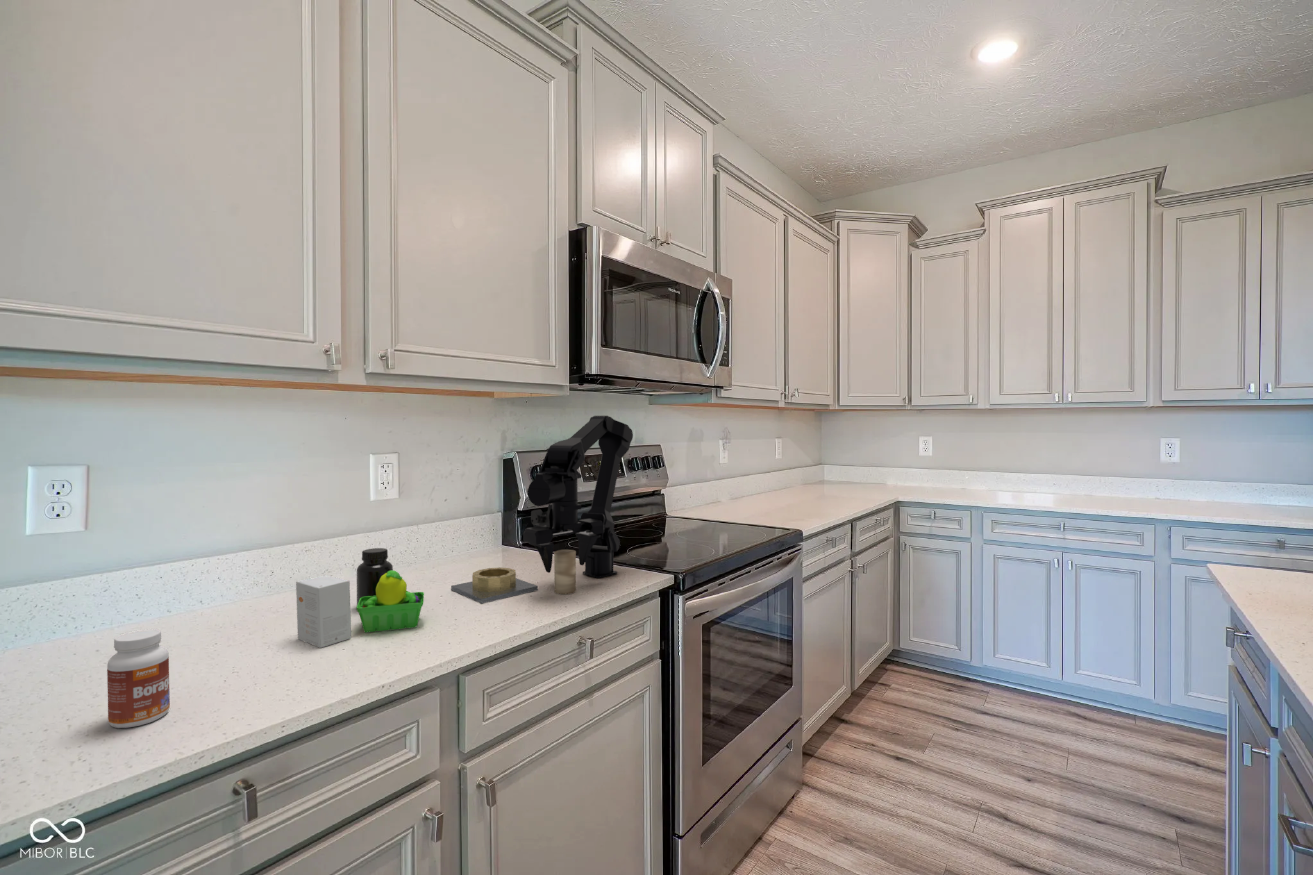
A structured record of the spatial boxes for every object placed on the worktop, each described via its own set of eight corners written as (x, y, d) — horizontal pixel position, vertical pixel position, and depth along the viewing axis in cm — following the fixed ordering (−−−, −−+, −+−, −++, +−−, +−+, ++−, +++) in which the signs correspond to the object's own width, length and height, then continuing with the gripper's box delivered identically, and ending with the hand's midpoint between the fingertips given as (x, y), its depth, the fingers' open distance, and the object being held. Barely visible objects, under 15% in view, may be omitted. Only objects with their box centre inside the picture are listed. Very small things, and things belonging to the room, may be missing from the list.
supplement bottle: (383, 613, 122) (382, 553, 121) (350, 612, 122) (349, 553, 122) (399, 602, 129) (398, 546, 128) (367, 602, 129) (366, 546, 128)
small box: (352, 639, 108) (350, 580, 107) (319, 648, 103) (318, 587, 103) (328, 630, 112) (327, 573, 112) (296, 639, 108) (295, 580, 107)
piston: (567, 586, 140) (567, 548, 140) (580, 591, 137) (579, 551, 137) (550, 591, 137) (549, 551, 137) (562, 595, 134) (562, 555, 133)
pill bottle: (136, 731, 76) (133, 644, 76) (95, 728, 77) (92, 641, 77) (182, 708, 82) (180, 627, 82) (143, 705, 83) (141, 625, 83)
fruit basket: (424, 616, 120) (423, 559, 120) (423, 631, 112) (422, 570, 111) (361, 622, 116) (360, 564, 116) (355, 638, 108) (354, 576, 108)
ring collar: (505, 578, 148) (505, 562, 148) (537, 590, 138) (537, 572, 138) (451, 590, 138) (450, 572, 138) (481, 603, 128) (481, 584, 128)
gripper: (576, 492, 149) (576, 555, 149) (509, 500, 136) (510, 569, 136) (605, 497, 141) (605, 563, 141) (537, 505, 128) (537, 579, 128)
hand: (565, 568), depth 137 cm, fingers open, 9 cm apart
